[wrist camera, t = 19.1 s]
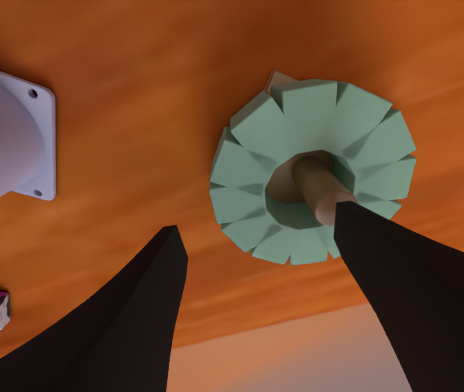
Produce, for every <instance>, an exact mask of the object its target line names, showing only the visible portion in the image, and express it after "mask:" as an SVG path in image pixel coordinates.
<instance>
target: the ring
mask: <svg viewBox="0 0 464 392" xmlns="http://www.w3.org/2000/svg"><path fill="white" fill-rule="evenodd" d="M391 106H392V103H391V102H390V101H387V100H385V99H383V98H381V97H379V96H377V95H375V94H373V93H370V92H368V91H366V90H364V89H362V88H360V87H358V86H355V85H353V84H351V83H347V82H339V81H331V80H322V79H308V80H303V81H297V82H292V83H286V84H281V85H275V86H272V96H270V95H269V94H267V93H266V92H264V91H262V92H260V93H259V94H258V95H257V96H256V97H255V98H253V99H252V100H251V101H250V102H249V103H248V104H246V105H245V106H244V107H243V108H242V109H241V110H239V111H238V112H237V113H236V114H235V115H234V116H232V117H231V118H230V127H227V126H225V127H224V130H223V133H222V136H221V138H220V141H219V144H218V147H217V150H216V153H215V155H214V158H213V162H212V167H211V173H210V179H209V181H210V186H209V193H210V197H211V201H212V205H213V209H214V213H215V217H216V222H217V224H221V231H222V232H223V233H224V234H225V235H227V236H228V237H229V238H230V239H231V240H232V241H233V242H234V243H235V244H236V245H237V246H238V247H239V248H240V249H242V250H243V251H244V252H247V251H249V250H251V256H253V257H257V258H260V259H264V260H268V261H271V262H275V263H279V264H282V265H284V264H285V262H286V261H287V259H288V258H289V261H290V264H291V265H298V264H307V263H315V262H323V261H327V250H328V252H329V253H330V254H331V255H332V257H333V258H334V259H335V258H337V257H339V256H341V255H340V252H339V250H338V248H337V246H336V243H335V241H334V239H333V237H334V226H327V225H323V224H321V223H320V222H319V221H318V220H317V219H316V217H315V216H314V214H313V212H312V210H311V209H310V207H309V205H308V203H307V202H306V201H305V202H298V203H291V204H286V203H283V202H280V201H277V200H274V199H271V198H270V197H269V196H268V194H267V193H266V192H265V190H264V189H265V188H266V186H267V184H268V182H269V180H270V178H271V176H272V174H273V172H274V170H275V169H276V168H277V167H279V166H280V165H281V164H283V163H284V162H286V161H287V160H288V159H290V158H291V157H293V156H294V155H295V154H297V153H303V152H310V151H316V150H324V151H327V152H330V153H331V155H332V156H333V170H332V174H333V175H334V176H335V177H336V178H337V179H338V180H339V181H340V182H341V183H342V184H343V185H344V186H345V187H346V188H347V189H348V190H349V191H350V192H351V193H352V194H353V195H354V197H355V198H356V201H357V204H359V205H361V206H363V207H365V208H367V209H369V210H371V211H373V212H375V213H377V214H379V215H381V216H383V217H385V218H387V219H389V220H390V219H391V218H392V216H393V215H394V214H395V213H396V212H397V211H398V210H399V209H400V207H401V206H402V205H401V204H400V203H399V202H398V201H396V200H395V199H401V198H406V197H407V194H408V191H409V187H410V183H411V179H412V175H413V171H414V167H415V163H416V157H414V156H412V155H410V153H411V152H413V151H414V150H416V147H415V144H414V142H413V140H412V137H411V135H410V133H409V130H408V128H407V125H406V123H405V121H404V118H403V116H402V114H401V111H400V110H397V109H393V108H390V107H391Z"/></svg>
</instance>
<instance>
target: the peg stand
mask: <svg viewBox="0 0 464 392" xmlns="http://www.w3.org/2000/svg"><path fill="white" fill-rule="evenodd" d="M297 81H299V80H297V79H294V78H292V77H290V76H288V75H286V74H283V73H281V72H279V71H277V70H272V71H271V73H270V75H269V78H268V80H267V83H266V85H265V87H264V90H263V91H264V92H266V93H267V94H269V95H270V96H272V86H275V85H281V84H286V83H292V82H297ZM332 170H333V156H332V155H331V153H330V152H327V151H324V150H316V151H310V152H303V153H297V154H295V155H294V156H293V157H291V158H290V159H288V160H287V161H286V162H284V163H283V164H281V165H280V166H279V167H277V168H276V169H275V170H274V172H273V174H272V176H271V178H270V180H269V182H268V184H267V186H266V188H265V189H264V190H265V192H266V193H267V194H268V196H269V197H270V198H271V199H274V200H277V201H280V202H283V203H286V204H291V203H298V202H305V201H306V202H307V203H308V205H309V207H310V209H311V210H312V212H313V214H314V216H315V217H316V219H317V220H318V221H319V222H320V223H321V224H323V225H327V226H334V223H335V210H336V202H343V201H350V200H351V201H353V202H355V203H357V201H356V198H355V197H354V195H353V194H352V193H351V192H350V191H349V190H348V189H347V188H346V187H345V186H344V185H343V184H342V183H341V182H340V181H339V180H338V179H337V178H336V177H335V176H334V175H333V174H332Z"/></svg>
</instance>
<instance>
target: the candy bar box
mask: <svg viewBox="0 0 464 392" xmlns="http://www.w3.org/2000/svg"><path fill="white" fill-rule="evenodd" d="M9 301H10V300H9V294H8V293H6V292H1V291H0V331H1V330H2V329H3V328H4V326H5V325H6V324H7V323H8V322H9V321H10V320H11V313H10V303H9Z"/></svg>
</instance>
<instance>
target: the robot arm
mask: <svg viewBox="0 0 464 392" xmlns="http://www.w3.org/2000/svg"><path fill="white" fill-rule="evenodd" d="M33 89H34V90H35V91H36V92H37V95H38V96H37V97H36V96H35V95H34V94H33ZM38 190H39V191H40V192H41V193H40V192H39V191H38ZM9 191H14V192H17V193H21V194H25V195H28V196H32V197H36V198H39V199H43V200H47V201H50V200H52V199H53V198H55V196H56V129H55V96H54V94H53V92H52V91H51V90H50V89H48V88H46V87H43V86H41V85H38V84H35V83H32V82H29V81H27V80H24V79H21V78H18V77H16V76H13V75H10V74H7V73H4V72H2V71H0V196H2V195H4V194H6V193H8V192H9ZM333 239H334V241H335V243H336V246H337V248H338V250H339V252H340V255H341V257H342V259H343V260H344V262H345V264H346V265H347V267H348V269H349V270H350V272H351V274H352V275H353V277H354V279H355V280H356V282H357V283H358V285H359V287H360V288H361V290H362V291H363V293H364V295H365V296H366V298H367V299H368V301H369V303H370V304H371V306H372V308H373V310H374V311H375V313H376V315H377V317H378V319H379V321H380V323H381V325H382V327H383V329H384V331H385V333H386V335H387V337H388V339H389V341H390V343H391V345H392V347H393V349H394V351H395V354H396V356H397V358H398V360H399V362H400V364H401V366H402V368H403V371H404V373H405V375H406V377H407V380H408V382H409V384H410V386H411V389H412V391H413V392H464V252H462V251H459V250H457V249H454V248H451V247H449V246H446V245H443V244H441V243H439V242H436V241H434V240H431V239H429V238H427V237H425V236H422V235H420V234H418V233H416V232H413V231H411V230H409V229H407V228H405V227H403V226H401V225H399V224H397V223H395V222H393V221H391V220H389V219H387V218H385V217H383V216H381V215H379V214H377V213H375V212H373V211H371V210H369V209H367V208H365V207H363V206H361V205H359V204H357V203H355V202H353V201H351V200H350V201H343V202H336V210H335V223H334V237H333ZM187 263H188V256H187V253H186V250H185V247H184V245H183V242H182V239H181V236H180V233H179V231H178V228H177V225H173V226H166V227H163V228H162V229H161V230H160V231H159V232H158V233H157V234H156V235H155V236H154V237H153V238H152V239H151V240H150V241H149V242H148V243H147V245H146V246H145V247H144V248H143V249H142V250H141V251H140V252H139V253H138V254H137V255H136V256H135V257H134V258H133V259H132V260H131V261H130V262H129V263H128V264H127V265H126V266H125V267H124V268H123V269H122V270H121V271H120V272H119V273H117V274H116V275H115V276H114V277H113V278H112V279H111V280H110V281H109V282H108V283H107V284H105V285H104V286H103V287H102V288H101V289H99V290H98V291H97V292H96V293H95V294H93V295H92V296H91V297H90V298H89V299H87V300H86V301H85V302H83V303H82V304H81V305H79V306H78V307H77V308H75V309H74V310H73V311H71V312H70V313H69V314H67V315H66V316H65V317H63V318H62V319H60V320H59V321H58V322H56V323H55V324H53V325H52V326H50V327H49V328H48V329H46V330H45V331H43V332H42V333H40V334H39V335H37V336H36V337H34V338H33V339H31V340H29V341H28V342H26V343H25V344H23V345H22V346H20V347H19V348H17V349H15V350H14V351H12V352H11V353H9V354H7V355H6V356H4V357H2V358H1V359H0V392H166V387H167V378H168V370H169V361H170V354H171V346H172V339H173V333H174V328H175V324H176V319H177V315H178V311H179V306H180V302H181V298H182V294H183V289H184V285H185V280H186V274H187Z"/></svg>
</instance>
